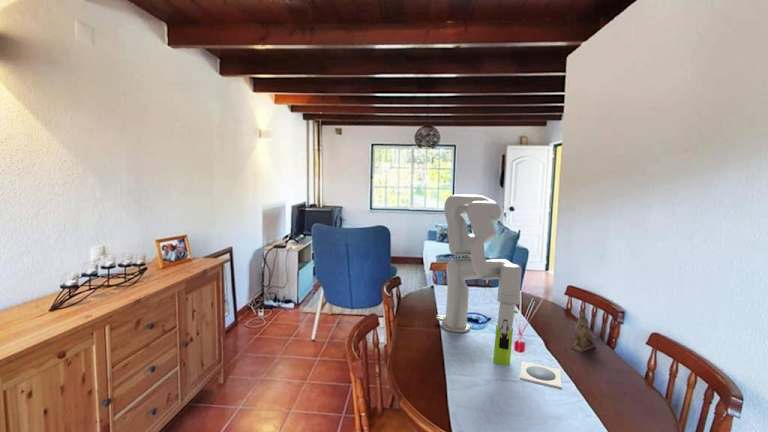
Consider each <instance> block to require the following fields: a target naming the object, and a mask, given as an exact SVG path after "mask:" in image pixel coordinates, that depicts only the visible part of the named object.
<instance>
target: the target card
mask: <svg viewBox="0 0 768 432" xmlns="http://www.w3.org/2000/svg"><path fill="white" fill-rule="evenodd" d="M520 366H521V367H520V375H519V380H522V381H525V382H526V381H527V382H531V383H535V384H540V385H542V386H543V385H544V386H549V387H551V388H552V387H553V388H557V389H561V390H562V389H563V386H562V385H563V384H562V373H561V368H556V367H551V366H546V365H542V364H536V363H534V362H528V361H524V360H522V361H521V365H520Z"/></svg>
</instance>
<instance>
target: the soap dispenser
mask: <svg viewBox="0 0 768 432" xmlns="http://www.w3.org/2000/svg"><path fill="white" fill-rule="evenodd" d="M514 314H518V311H517V310H516V309H515V312H514ZM507 324H508V322H507ZM507 330H508V328H507ZM513 331H514V329H513V327H512V329H511V331H509V338H508V339H509V347H508V350H506V349H502V348H499V342H500V336H501V329H497V325H496V326H495V337H494V350H493V362H494V363H495V364H498V365H501V366H508V365H510V363H511V357H512V356H511V355H512V345H513V334H514V333H513ZM506 333H507V332H506Z"/></svg>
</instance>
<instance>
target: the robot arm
mask: <svg viewBox="0 0 768 432" xmlns="http://www.w3.org/2000/svg"><path fill="white" fill-rule="evenodd" d="M443 209H444V216H445V220H446V223H447V238H448V249H449V252H450V254H451V255H454V256H469V257H462V258H460V257H458V258H453V259H451V260H450V259H449V261H448V262H447V263H446V275H447V277H446V278H447V289H446V290H447V291H446V305H445V306H446V307H445V314H444V315H441V314H436V317H435V319H437V321H440V322H441V328H443V329H444V330H446V331H448V332H451V333H467V332H469V331H470V330H471V326H470V324H468V323H467V322H468V309H469V296H470V295H469V294H470V289H469V286H468V285H467V283H466V281H467V280H479V279H480V280H487V281H488V280H498V289H497V301H498V302H499V307H498V317H497V318H498V319H497V325H496V326H497V329H501V336H500V342H499V348H502V349H506V350H508V347H509V339H508V338H509V331H511V329H512V328H513V324H514V320H515V313H514V312H515V310H516V305H519V304H520V297H521V296H520V295H521V294H520V293H521V284H522V273H523V272H522V270H523V269H522V267H521V266H520V265H519V264H515V263H512V262H511V261H509V260H508V259H504V258H497V259H496V258H491V259H488V258H487V259H486V256H485V243H488V242H490V241H491V240H493V239H494V238H496V235H497V231H496V228H495V226H494V223H493V222H496V221H498V220H499V219H500V218H501V215H502V208H501V206H500V205H499V203H497V201H495V200H493V199H490V198H488V197H486V196H484V195H480V194H462V193H461V194H453V195H452V194H451V195H449V196H448V197H447V198H446V200H445V202H444V208H443ZM462 214H463V215H465V214H466V215H467V218H468V221H469V224H470V227H471V230H472V233H468V225H467V222H466V219H465V218H464V217H463V216H462ZM507 322H508V324H507ZM507 328H508V330H507ZM506 332H507V333H506Z"/></svg>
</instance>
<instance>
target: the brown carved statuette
mask: <svg viewBox="0 0 768 432" xmlns="http://www.w3.org/2000/svg"><path fill="white" fill-rule="evenodd" d="M578 314H579V317H578V320H577V323H576V324H575V325H574V329H573V330H574V337H575V342H574V343H573V344H571V346H570V348H571V349H572V350H575V351H578V352H580V353H582V352H584V351H587V350H590V349H593V348H594V347H596V342H595V341H594V339H593V336H592V334H591V331H590V327H589V320H588V319H587V317H586V314H587V313H586V312H585V311H584V310H579V312H578Z"/></svg>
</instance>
